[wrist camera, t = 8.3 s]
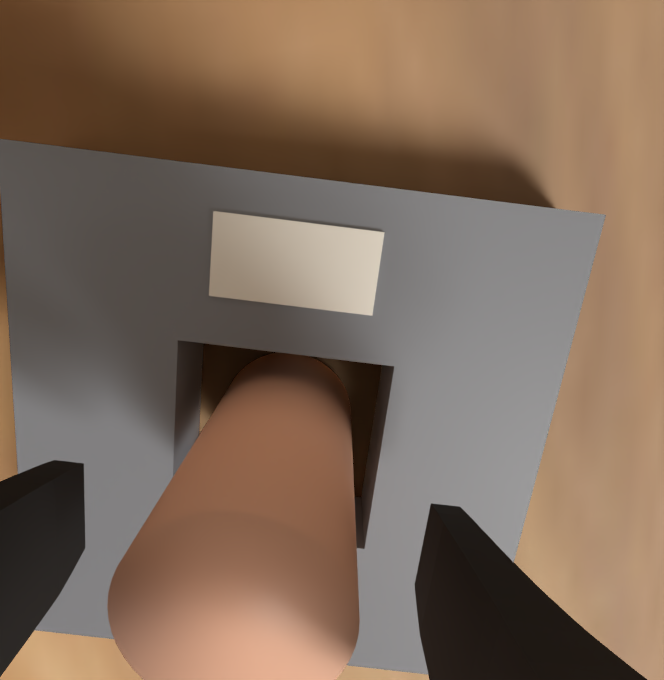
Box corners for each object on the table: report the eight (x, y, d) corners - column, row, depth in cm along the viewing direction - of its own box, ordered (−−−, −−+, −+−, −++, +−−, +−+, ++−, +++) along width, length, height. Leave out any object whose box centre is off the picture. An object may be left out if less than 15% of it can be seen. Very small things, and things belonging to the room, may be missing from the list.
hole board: (71, 569, 17) (25, 632, 15) (59, 150, 13) (-6, 137, 11) (462, 614, 17) (483, 683, 15) (558, 213, 14) (607, 214, 11)
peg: (221, 461, 16) (108, 702, 8) (229, 344, 15) (106, 495, 7) (342, 475, 16) (343, 728, 8) (358, 360, 15) (376, 527, 7)
